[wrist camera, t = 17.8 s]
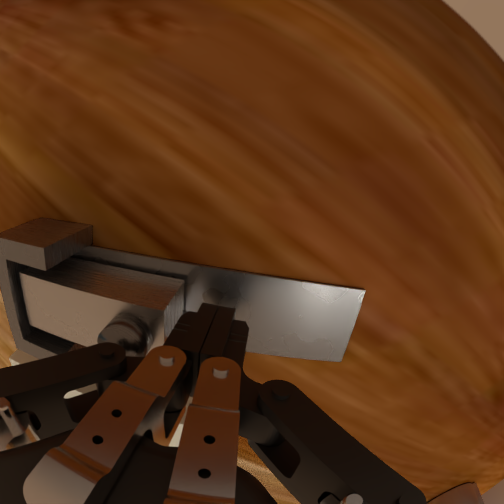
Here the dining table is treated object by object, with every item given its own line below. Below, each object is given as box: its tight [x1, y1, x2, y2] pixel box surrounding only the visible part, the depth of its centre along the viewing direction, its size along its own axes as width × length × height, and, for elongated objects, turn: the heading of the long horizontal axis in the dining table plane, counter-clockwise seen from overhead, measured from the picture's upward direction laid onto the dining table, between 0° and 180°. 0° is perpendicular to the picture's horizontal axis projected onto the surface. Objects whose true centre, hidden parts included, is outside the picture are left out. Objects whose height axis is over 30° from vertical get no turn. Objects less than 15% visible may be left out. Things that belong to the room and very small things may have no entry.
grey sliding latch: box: [0, 218, 365, 362], centre depth 13 cm, size 18×7×4 cm, turn 82°
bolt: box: [19, 257, 185, 357], centre depth 12 cm, size 8×3×4 cm, turn 82°
